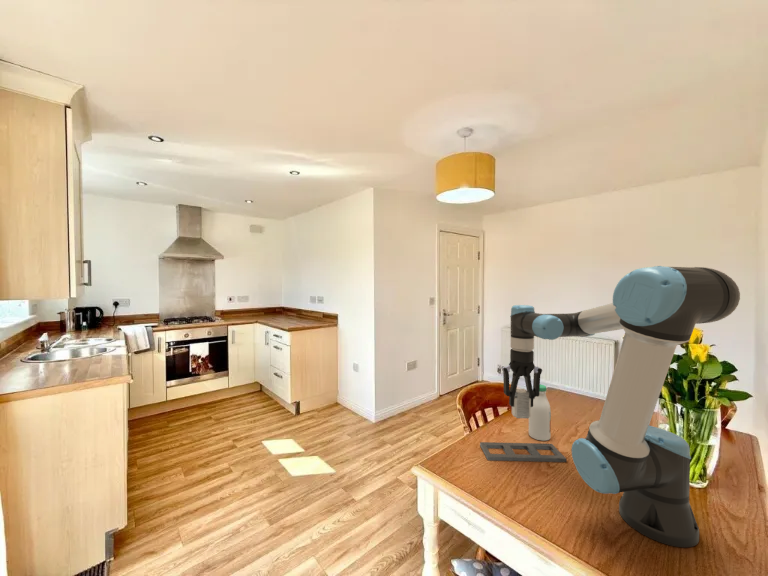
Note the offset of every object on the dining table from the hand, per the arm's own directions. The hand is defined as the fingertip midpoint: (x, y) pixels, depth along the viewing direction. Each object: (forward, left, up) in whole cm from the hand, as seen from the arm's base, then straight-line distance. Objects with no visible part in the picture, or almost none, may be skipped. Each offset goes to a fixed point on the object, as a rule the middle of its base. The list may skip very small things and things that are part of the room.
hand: (521, 415), depth 113 cm
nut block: (0, 0, 0) cm, 1 cm away
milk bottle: (+13, -12, -14) cm, 22 cm away
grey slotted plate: (0, 0, -13) cm, 13 cm away
